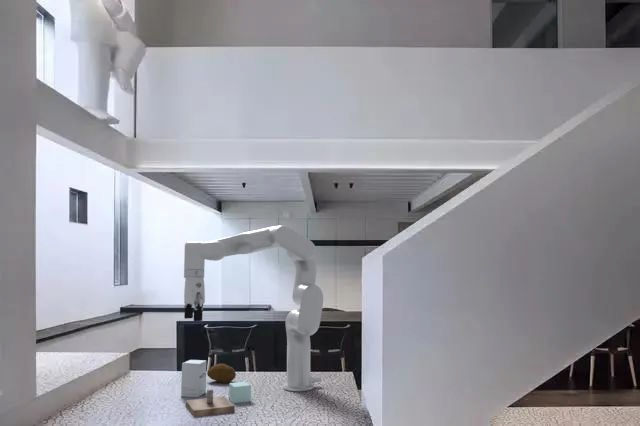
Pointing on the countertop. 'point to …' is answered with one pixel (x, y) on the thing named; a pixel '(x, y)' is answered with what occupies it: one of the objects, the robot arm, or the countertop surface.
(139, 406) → the countertop surface
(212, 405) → the wooden peg base
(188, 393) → the supplement box
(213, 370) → the potato
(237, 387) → the pale blue cube
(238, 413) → the countertop surface
